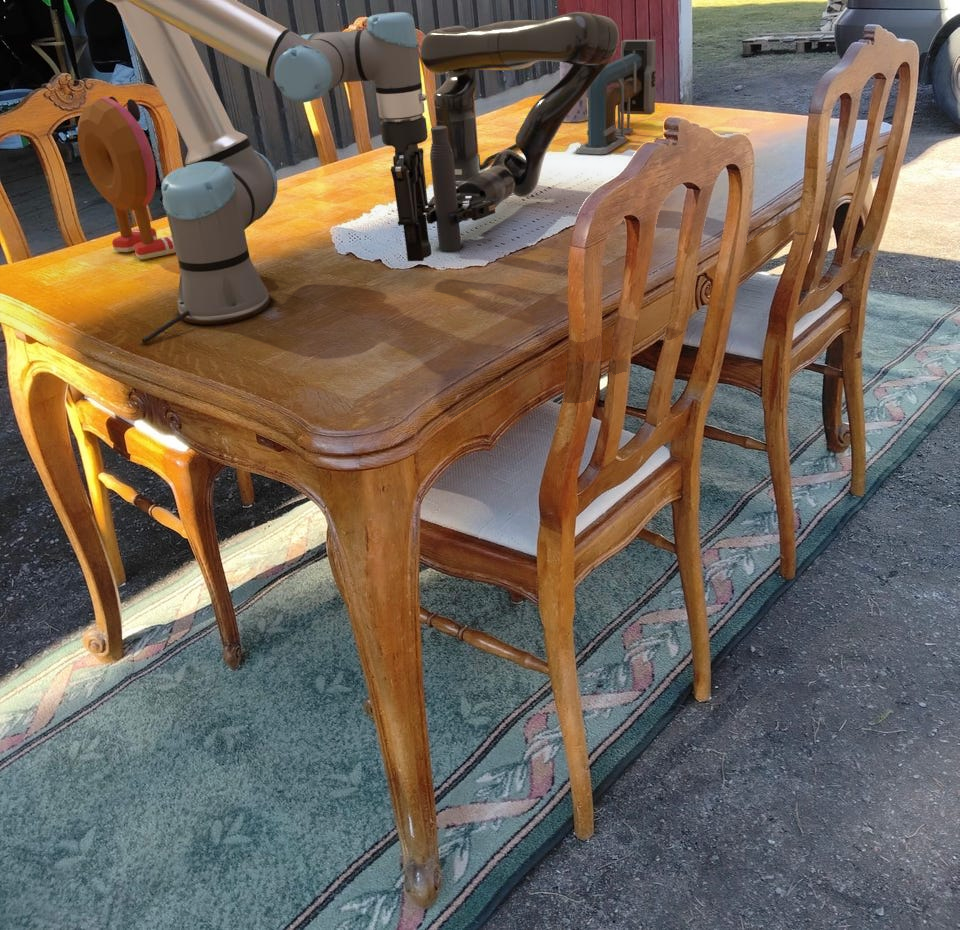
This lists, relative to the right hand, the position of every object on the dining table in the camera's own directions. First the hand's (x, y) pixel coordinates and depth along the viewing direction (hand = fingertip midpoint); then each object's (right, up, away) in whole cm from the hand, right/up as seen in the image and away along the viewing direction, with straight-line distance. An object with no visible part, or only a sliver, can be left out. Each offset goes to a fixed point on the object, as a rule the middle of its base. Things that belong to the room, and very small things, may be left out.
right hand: (440, 219), depth 180 cm
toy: (-61, -2, +18) cm, 64 cm away
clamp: (+43, +40, +74) cm, 94 cm away
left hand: (-3, -9, -11) cm, 15 cm away
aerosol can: (+35, +53, +97) cm, 116 cm away
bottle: (+2, -4, +5) cm, 7 cm away
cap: (-3, -8, -12) cm, 14 cm away
